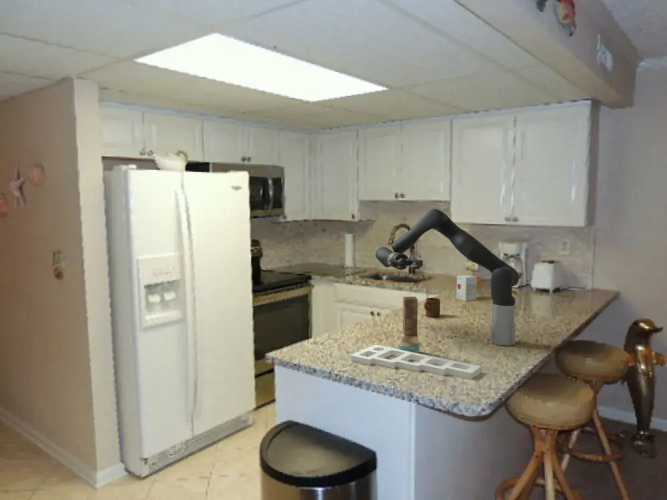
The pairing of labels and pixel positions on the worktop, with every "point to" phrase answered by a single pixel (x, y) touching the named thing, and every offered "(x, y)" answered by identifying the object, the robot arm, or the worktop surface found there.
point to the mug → (432, 307)
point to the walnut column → (410, 316)
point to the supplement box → (466, 287)
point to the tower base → (410, 348)
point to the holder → (425, 361)
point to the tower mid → (409, 340)
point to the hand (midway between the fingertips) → (412, 264)
